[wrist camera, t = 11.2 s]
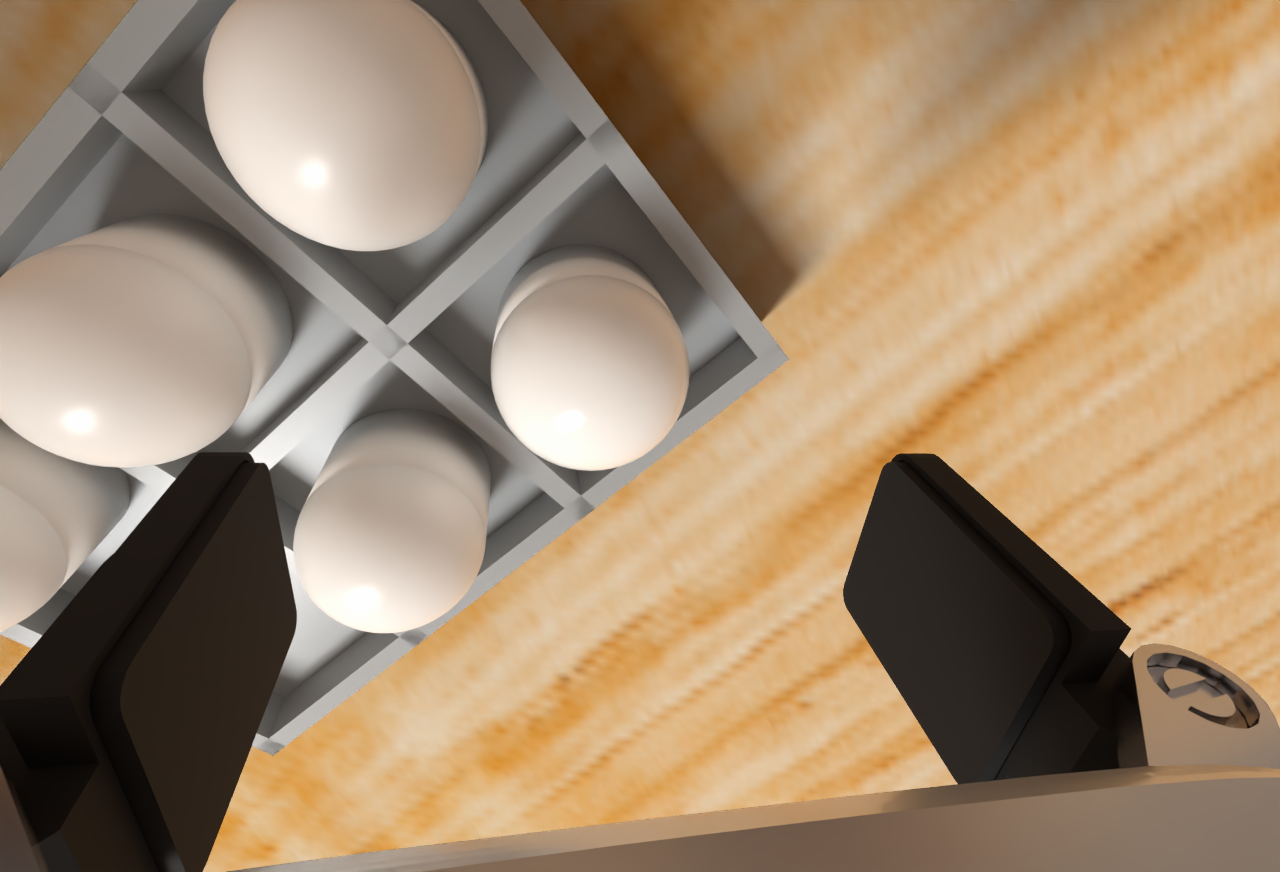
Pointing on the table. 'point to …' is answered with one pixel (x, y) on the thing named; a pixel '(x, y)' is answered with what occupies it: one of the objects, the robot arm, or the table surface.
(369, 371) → the carton
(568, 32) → the table surface
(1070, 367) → the table surface
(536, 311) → the egg
